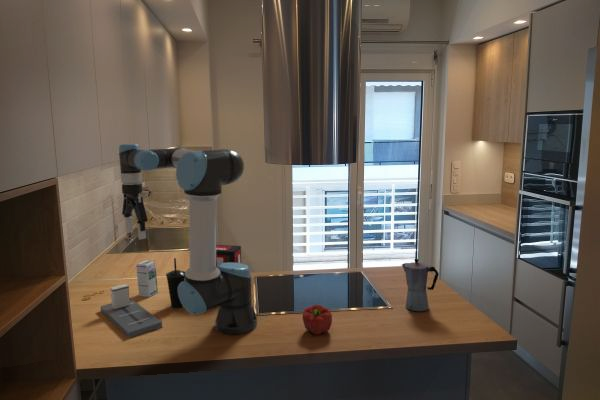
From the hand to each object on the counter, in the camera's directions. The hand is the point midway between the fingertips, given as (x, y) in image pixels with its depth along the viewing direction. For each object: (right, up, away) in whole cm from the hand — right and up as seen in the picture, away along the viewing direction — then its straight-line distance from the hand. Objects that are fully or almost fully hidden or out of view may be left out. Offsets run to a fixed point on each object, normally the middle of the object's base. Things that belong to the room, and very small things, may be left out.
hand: (135, 235), depth 176 cm
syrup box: (0, -27, +14) cm, 30 cm away
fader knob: (-5, -27, -3) cm, 28 cm away
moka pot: (+113, -29, -2) cm, 117 cm away
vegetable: (+72, -33, -22) cm, 82 cm away
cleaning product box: (+31, -26, +16) cm, 44 cm away
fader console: (+1, -31, -10) cm, 32 cm away
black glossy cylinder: (+16, -29, +2) cm, 33 cm away
